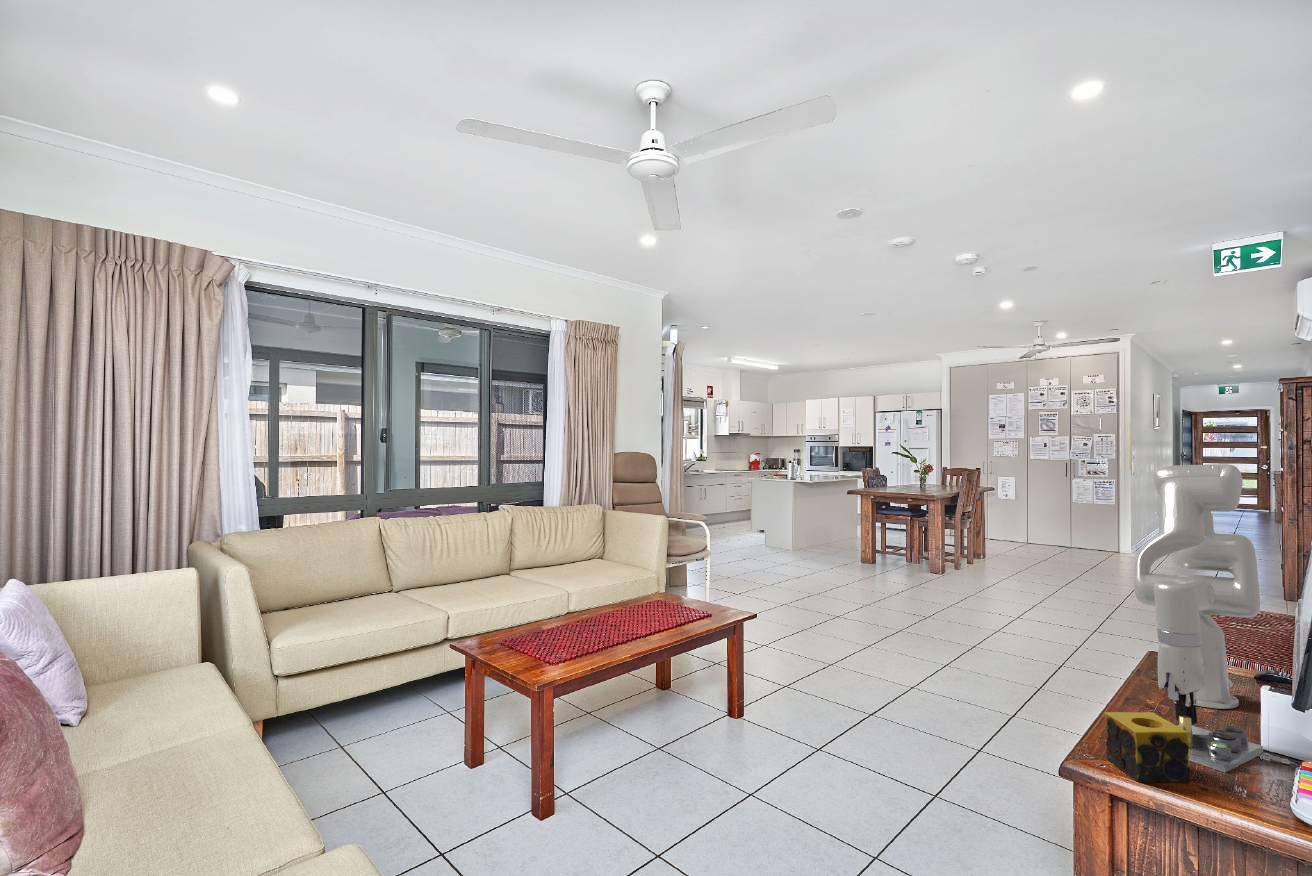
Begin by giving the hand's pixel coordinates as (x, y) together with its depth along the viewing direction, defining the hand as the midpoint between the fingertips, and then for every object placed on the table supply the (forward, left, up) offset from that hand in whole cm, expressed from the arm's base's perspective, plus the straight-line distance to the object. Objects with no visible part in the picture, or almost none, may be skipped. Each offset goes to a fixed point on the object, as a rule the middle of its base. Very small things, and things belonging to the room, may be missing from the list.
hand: (1186, 721), depth 139 cm
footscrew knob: (+3, +5, -3) cm, 7 cm away
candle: (+21, +2, -5) cm, 22 cm away
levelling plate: (+2, +3, -4) cm, 6 cm away
